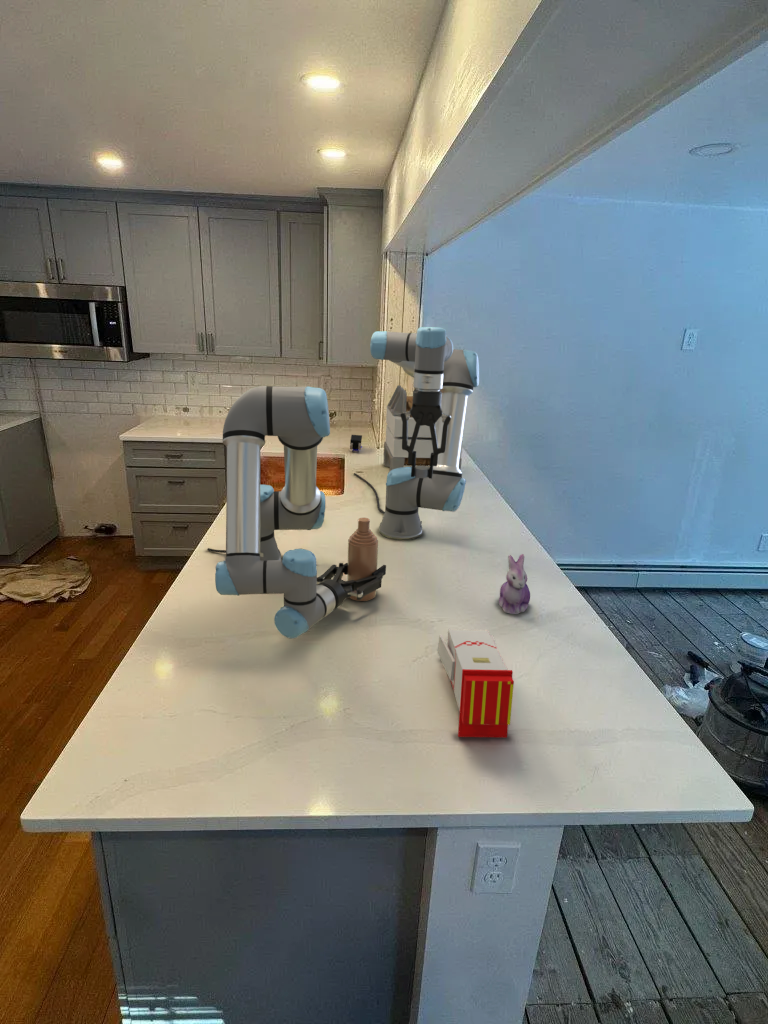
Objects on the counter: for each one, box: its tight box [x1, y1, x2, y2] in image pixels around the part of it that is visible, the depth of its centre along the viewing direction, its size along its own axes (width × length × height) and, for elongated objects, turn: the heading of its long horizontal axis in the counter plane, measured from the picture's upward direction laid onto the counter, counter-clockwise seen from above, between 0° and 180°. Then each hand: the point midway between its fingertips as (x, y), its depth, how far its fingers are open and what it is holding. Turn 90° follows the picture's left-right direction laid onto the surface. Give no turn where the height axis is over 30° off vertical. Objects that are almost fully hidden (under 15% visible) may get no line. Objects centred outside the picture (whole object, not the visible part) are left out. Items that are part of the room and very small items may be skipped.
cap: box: [414, 466, 430, 478], centre depth 154 cm, size 4×4×2 cm
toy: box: [437, 628, 515, 738], centre depth 117 cm, size 12×13×30 cm
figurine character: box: [349, 434, 363, 453], centre depth 311 cm, size 7×8×15 cm
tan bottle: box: [346, 517, 379, 602], centre depth 153 cm, size 8×8×22 cm
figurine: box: [498, 553, 531, 615], centre depth 151 cm, size 9×10×15 cm
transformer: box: [383, 384, 466, 472], centre depth 268 cm, size 34×33×41 cm
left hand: (371, 565), depth 159 cm, fingers closed on tan bottle, 8 cm apart
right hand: (421, 476), depth 155 cm, fingers closed on cap, 4 cm apart
